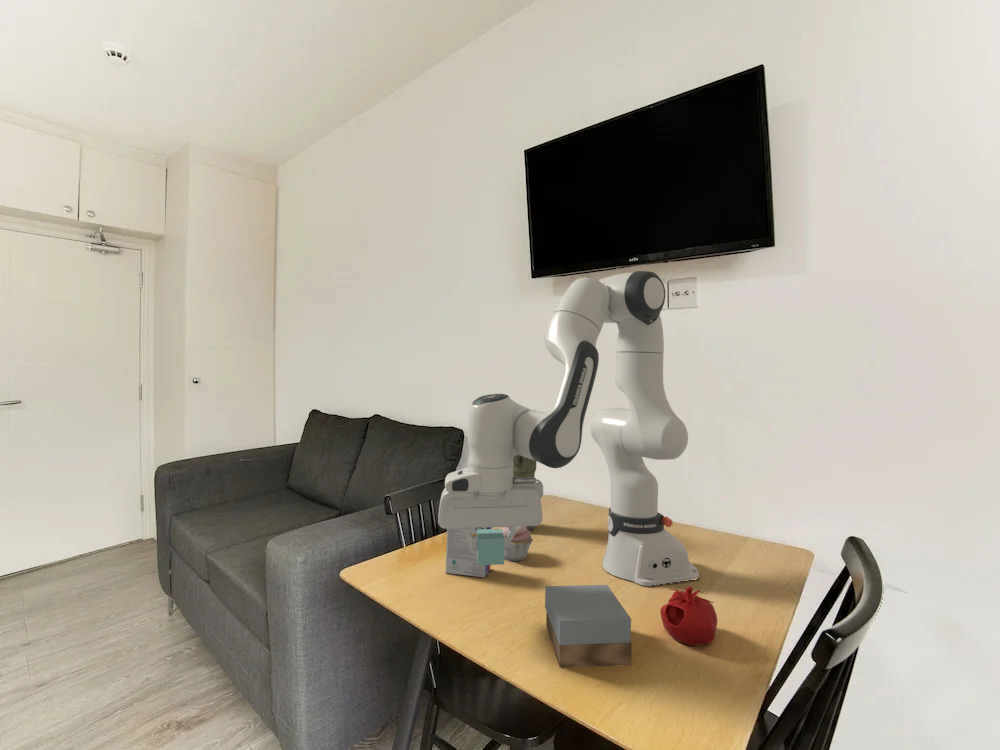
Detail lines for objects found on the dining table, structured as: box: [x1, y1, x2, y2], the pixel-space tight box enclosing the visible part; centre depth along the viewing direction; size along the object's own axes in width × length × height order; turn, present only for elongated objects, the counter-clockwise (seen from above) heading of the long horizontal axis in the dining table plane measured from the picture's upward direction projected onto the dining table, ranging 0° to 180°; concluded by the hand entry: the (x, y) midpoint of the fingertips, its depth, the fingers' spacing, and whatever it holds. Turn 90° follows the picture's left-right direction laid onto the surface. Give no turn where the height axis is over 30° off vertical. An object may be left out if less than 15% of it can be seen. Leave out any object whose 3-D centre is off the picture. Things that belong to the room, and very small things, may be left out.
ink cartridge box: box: [445, 527, 492, 578], centre depth 110 cm, size 10×6×14 cm, turn 79°
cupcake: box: [501, 526, 534, 562], centre depth 119 cm, size 9×9×10 cm
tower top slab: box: [544, 584, 632, 645], centre depth 82 cm, size 12×12×4 cm
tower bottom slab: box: [545, 613, 633, 668], centre depth 82 cm, size 12×12×4 cm
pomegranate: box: [660, 585, 718, 646], centre depth 86 cm, size 10×10×9 cm
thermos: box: [513, 455, 537, 532], centre depth 141 cm, size 9×12×35 cm
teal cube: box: [477, 528, 505, 566], centre depth 91 cm, size 5×5×5 cm
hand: (490, 548), depth 91 cm, fingers closed on teal cube, 5 cm apart
